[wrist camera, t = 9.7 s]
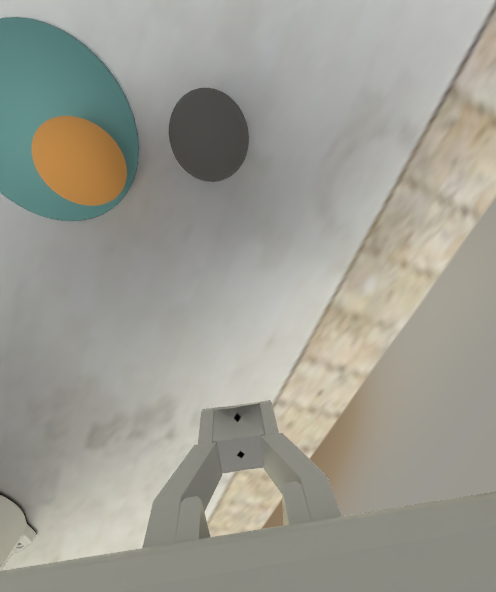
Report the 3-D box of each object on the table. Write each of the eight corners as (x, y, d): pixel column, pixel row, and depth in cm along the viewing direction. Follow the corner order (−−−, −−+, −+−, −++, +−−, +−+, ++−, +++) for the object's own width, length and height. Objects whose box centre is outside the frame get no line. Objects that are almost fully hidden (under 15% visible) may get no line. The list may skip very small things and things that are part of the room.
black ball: (169, 112, 19) (148, 167, 18) (201, 43, 15) (177, 109, 13) (228, 156, 22) (216, 207, 21) (269, 109, 18) (257, 170, 16)
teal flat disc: (82, 251, 23) (81, 251, 22) (-80, 132, 18) (-84, 131, 18) (171, 133, 20) (171, 133, 20) (3, -39, 16) (0, -42, 15)
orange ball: (77, 225, 17) (-13, 147, 14) (98, 217, 22) (35, 158, 19) (138, 170, 16) (59, 80, 14) (146, 174, 21) (88, 109, 19)
